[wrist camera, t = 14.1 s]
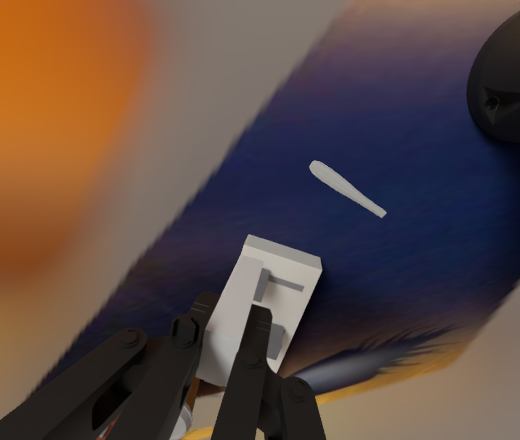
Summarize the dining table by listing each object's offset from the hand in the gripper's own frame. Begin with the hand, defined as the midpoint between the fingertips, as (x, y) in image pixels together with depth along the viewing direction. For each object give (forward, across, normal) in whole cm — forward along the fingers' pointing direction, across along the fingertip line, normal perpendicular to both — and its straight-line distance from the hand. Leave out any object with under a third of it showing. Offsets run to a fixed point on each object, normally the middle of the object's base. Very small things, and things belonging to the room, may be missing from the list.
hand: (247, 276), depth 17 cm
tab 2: (+20, +5, -22) cm, 30 cm away
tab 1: (+20, 0, -13) cm, 24 cm away
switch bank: (+25, +2, -22) cm, 33 cm away
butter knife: (+26, +16, 0) cm, 30 cm away
